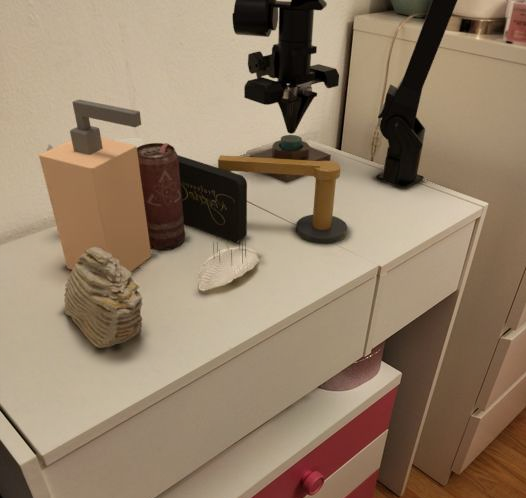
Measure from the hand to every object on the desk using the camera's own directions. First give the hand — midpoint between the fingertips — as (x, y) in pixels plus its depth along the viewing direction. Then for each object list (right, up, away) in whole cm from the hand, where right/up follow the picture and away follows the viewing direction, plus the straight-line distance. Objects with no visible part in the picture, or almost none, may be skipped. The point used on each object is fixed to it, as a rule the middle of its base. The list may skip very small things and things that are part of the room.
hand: (291, 132), depth 103 cm
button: (0, -2, +2) cm, 3 cm away
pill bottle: (-26, -18, -11) cm, 34 cm away
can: (-20, -24, -19) cm, 36 cm away
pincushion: (-10, -30, -26) cm, 41 cm away
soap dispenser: (-25, -29, -24) cm, 46 cm away
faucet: (+4, -22, -16) cm, 27 cm away
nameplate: (-17, -20, -14) cm, 30 cm away
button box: (0, -5, +4) cm, 6 cm away
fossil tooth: (-25, -38, -35) cm, 57 cm away
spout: (-3, -15, -20) cm, 26 cm away
